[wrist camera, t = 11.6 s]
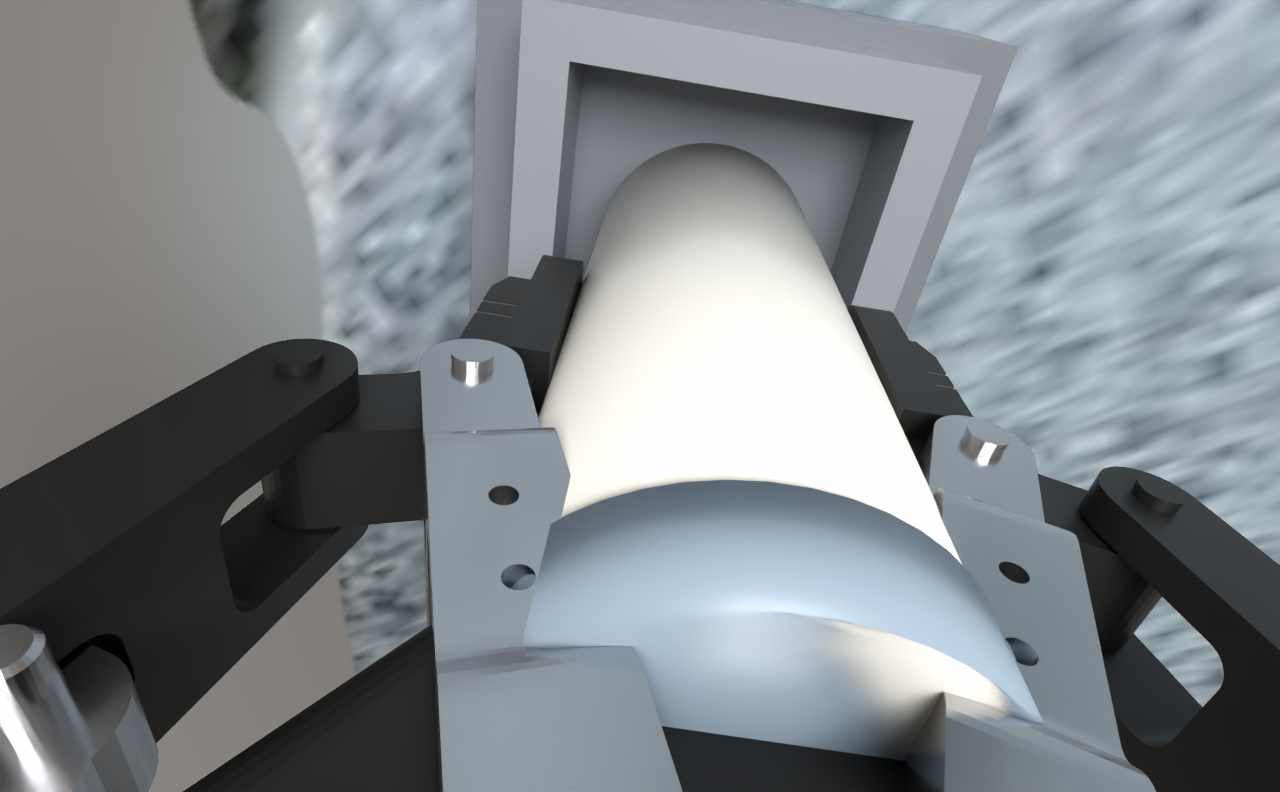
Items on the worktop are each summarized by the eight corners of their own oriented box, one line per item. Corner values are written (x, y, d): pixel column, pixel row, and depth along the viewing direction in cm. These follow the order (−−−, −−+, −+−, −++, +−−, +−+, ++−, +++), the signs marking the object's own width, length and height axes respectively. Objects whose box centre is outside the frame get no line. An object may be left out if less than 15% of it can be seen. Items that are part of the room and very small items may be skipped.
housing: (774, 560, 30) (793, 698, 24) (489, 516, 29) (443, 645, 24) (959, 31, 19) (1070, 61, 13) (517, -47, 19) (444, -49, 13)
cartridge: (685, 375, 18) (682, 997, 7) (555, 235, 17) (292, 776, 6) (848, 262, 17) (1173, 866, 6) (722, 90, 15) (826, 472, 4)
